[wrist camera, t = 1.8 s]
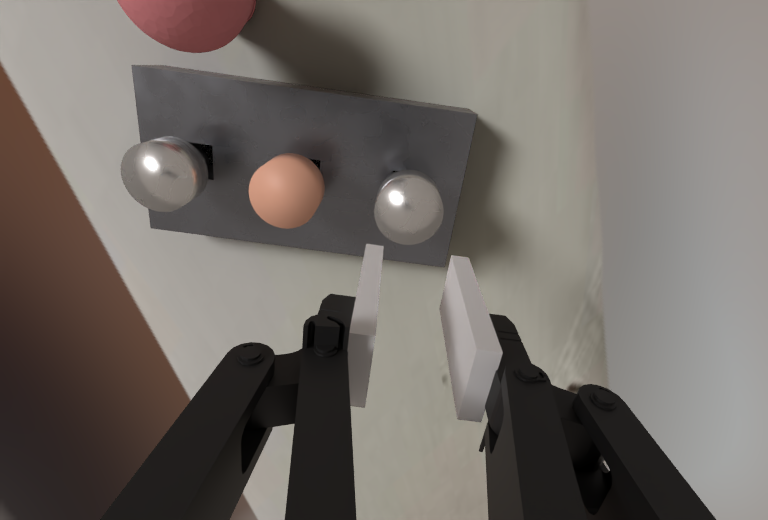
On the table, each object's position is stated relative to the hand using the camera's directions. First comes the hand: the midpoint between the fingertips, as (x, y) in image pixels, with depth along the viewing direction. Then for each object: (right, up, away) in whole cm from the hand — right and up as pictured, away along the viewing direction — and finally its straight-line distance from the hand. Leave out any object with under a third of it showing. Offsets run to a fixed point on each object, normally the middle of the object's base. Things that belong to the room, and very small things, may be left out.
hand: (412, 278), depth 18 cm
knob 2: (-7, +7, +13) cm, 17 cm away
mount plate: (-7, +9, +17) cm, 20 cm away
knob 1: (-15, +9, +13) cm, 22 cm away
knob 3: (+1, +6, +14) cm, 15 cm away
